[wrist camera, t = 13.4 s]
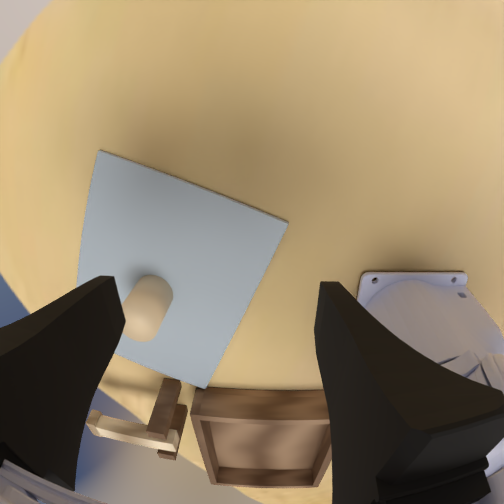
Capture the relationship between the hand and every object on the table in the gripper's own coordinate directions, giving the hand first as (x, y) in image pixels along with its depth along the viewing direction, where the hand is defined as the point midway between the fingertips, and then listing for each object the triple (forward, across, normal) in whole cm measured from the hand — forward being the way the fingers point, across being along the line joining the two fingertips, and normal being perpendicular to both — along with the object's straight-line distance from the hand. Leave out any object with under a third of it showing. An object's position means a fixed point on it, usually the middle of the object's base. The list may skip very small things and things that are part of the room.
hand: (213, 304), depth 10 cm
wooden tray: (+10, -1, +26) cm, 28 cm away
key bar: (+6, +10, +19) cm, 23 cm away
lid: (+11, +6, +6) cm, 14 cm away
